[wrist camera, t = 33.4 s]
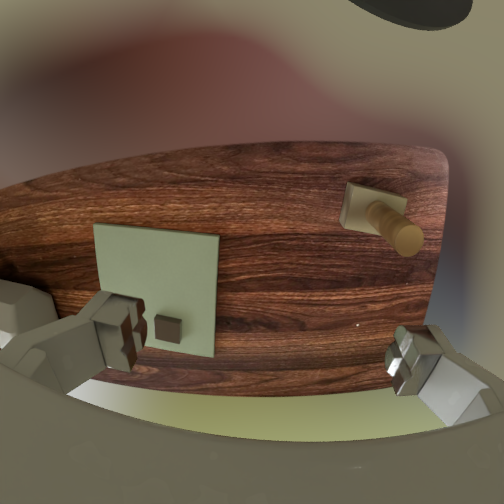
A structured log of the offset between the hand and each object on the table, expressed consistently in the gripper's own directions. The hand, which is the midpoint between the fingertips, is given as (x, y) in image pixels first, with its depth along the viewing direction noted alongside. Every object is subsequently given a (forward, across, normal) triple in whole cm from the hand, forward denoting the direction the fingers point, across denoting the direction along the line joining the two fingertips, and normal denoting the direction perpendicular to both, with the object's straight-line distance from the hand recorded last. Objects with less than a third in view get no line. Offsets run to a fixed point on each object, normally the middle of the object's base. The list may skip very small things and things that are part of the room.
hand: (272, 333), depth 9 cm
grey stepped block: (+27, +48, +23) cm, 59 cm away
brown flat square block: (+26, +12, +22) cm, 37 cm away
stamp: (+27, -12, +1) cm, 30 cm away
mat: (+27, +14, +17) cm, 35 cm away
